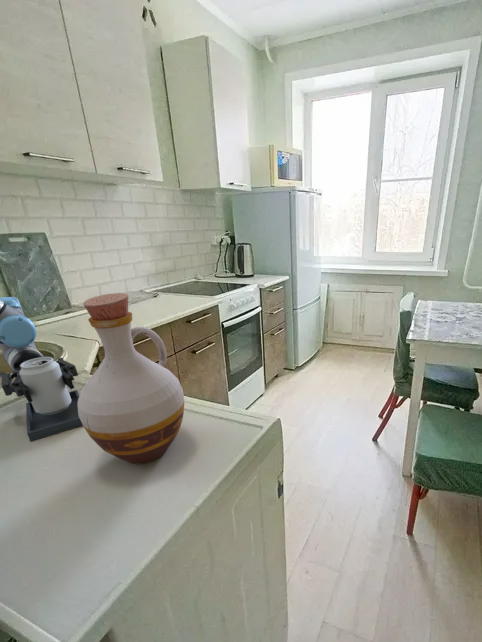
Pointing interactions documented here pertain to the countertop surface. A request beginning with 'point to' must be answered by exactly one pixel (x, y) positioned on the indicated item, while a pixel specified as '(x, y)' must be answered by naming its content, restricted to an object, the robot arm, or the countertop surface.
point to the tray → (53, 420)
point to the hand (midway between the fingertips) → (50, 389)
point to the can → (45, 385)
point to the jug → (129, 388)
